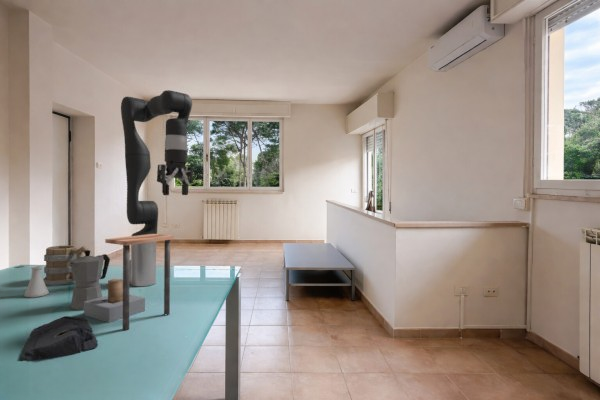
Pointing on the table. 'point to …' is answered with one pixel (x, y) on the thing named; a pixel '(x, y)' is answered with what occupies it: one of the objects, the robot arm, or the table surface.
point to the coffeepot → (87, 278)
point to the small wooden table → (126, 268)
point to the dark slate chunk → (59, 339)
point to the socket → (112, 308)
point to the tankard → (60, 264)
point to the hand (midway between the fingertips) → (175, 195)
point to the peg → (115, 290)
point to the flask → (36, 284)
